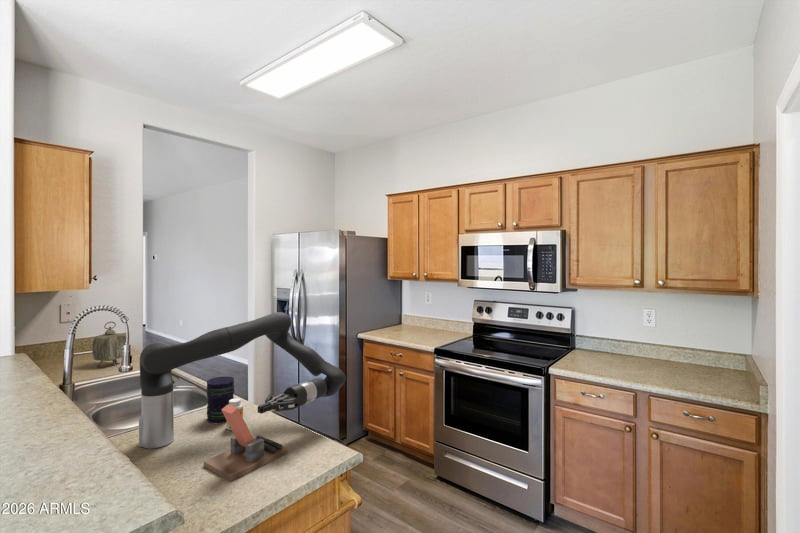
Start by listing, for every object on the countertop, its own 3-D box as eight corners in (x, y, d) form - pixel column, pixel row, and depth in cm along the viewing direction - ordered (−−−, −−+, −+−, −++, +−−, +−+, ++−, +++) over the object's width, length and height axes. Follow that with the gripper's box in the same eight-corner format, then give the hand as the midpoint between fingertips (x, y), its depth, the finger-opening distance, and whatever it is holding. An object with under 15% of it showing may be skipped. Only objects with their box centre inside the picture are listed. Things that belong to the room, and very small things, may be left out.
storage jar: (207, 415, 158) (206, 378, 157) (234, 411, 162) (233, 375, 162) (206, 425, 149) (206, 385, 148) (235, 421, 153) (234, 382, 153)
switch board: (260, 441, 137) (260, 422, 136) (287, 452, 129) (287, 432, 128) (203, 466, 120) (203, 444, 120) (231, 481, 112) (230, 458, 112)
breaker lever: (246, 440, 127) (227, 404, 121) (256, 444, 124) (237, 407, 118) (240, 446, 125) (221, 409, 120) (250, 451, 122) (231, 413, 117)
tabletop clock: (115, 361, 237) (115, 319, 236) (128, 362, 235) (128, 320, 234) (92, 368, 222) (91, 323, 222) (106, 369, 221) (105, 324, 220)
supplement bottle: (228, 432, 143) (228, 403, 143) (225, 426, 148) (225, 399, 148) (244, 428, 146) (244, 400, 146) (241, 423, 151) (241, 396, 151)
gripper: (288, 380, 145) (246, 394, 131) (313, 387, 138) (272, 402, 124) (288, 400, 146) (246, 417, 131) (314, 408, 138) (272, 426, 124)
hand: (259, 410), depth 127 cm, fingers closed
